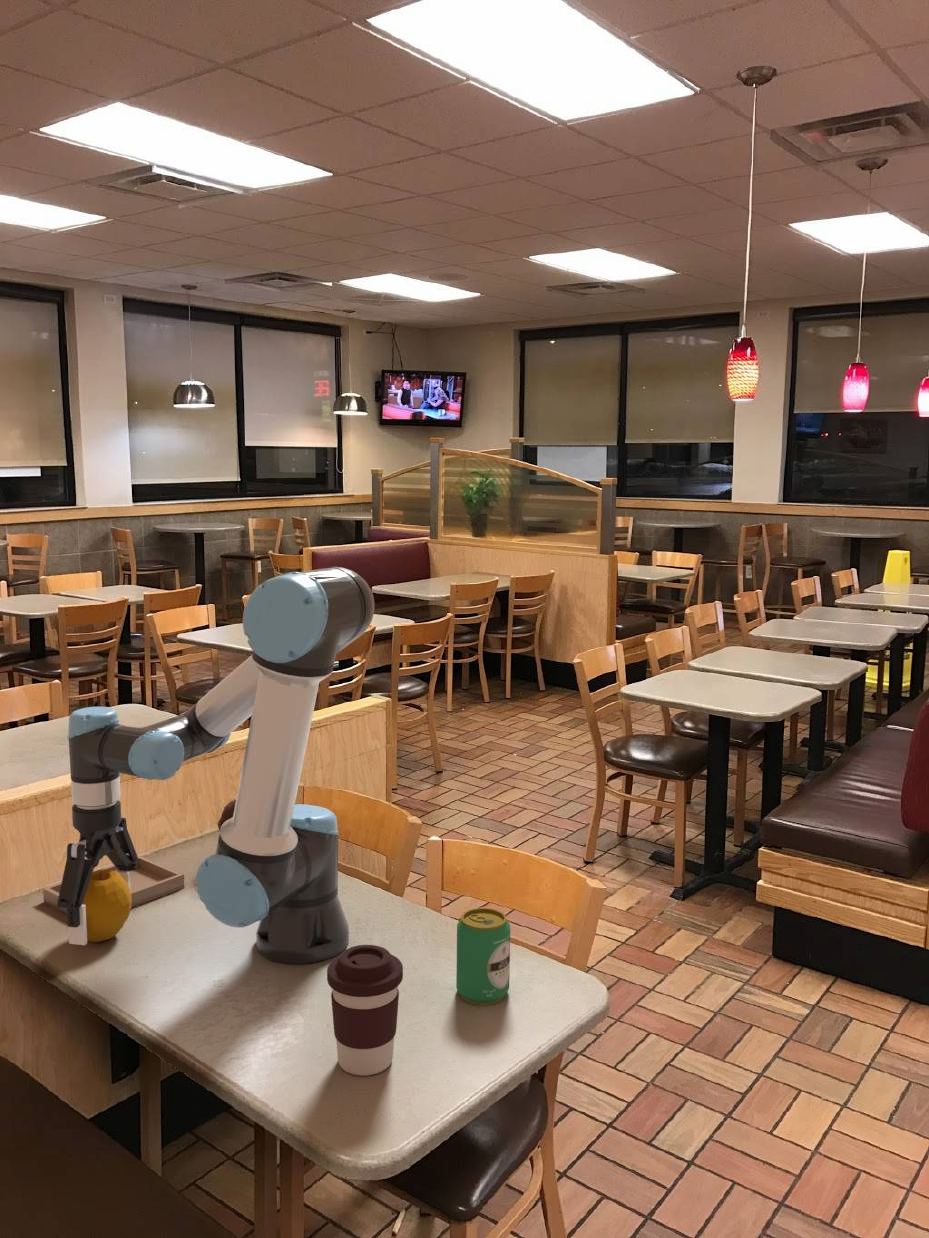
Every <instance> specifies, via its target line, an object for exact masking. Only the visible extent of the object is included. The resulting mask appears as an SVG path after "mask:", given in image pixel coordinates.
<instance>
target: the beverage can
mask: <svg viewBox="0 0 929 1238" xmlns="http://www.w3.org/2000/svg"><path fill="white" fill-rule="evenodd" d="M510 958H511V924H510V922H509V920H508V919H507V915H506V914H505V913H504V912H503V911H500V910H498V909H496V908H492V907H491V908H490V907H476V908H471V909H468V910H466V911H463V912H462V914H461V916H460V919H459V921H458V922H457V924H456V978H455V979H456V981H455V982H456V983H455V984H456V985H455V986H456V989H457V991H458V994H459V996H460V998H462V999H463V1001H466V1002H468V1003H470V1004H474V1005H479V1006H486V1005H494V1004H497V1003H499V1002H501V1001H503V1000H504V999H505V997H506V996H507V993H508V992H509V989H510V975H511V974H510V973H511V971H510V967H511V965H510V964H511V963H510V961H511V959H510Z"/></svg>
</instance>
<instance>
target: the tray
mask: <svg viewBox="0 0 929 1238" xmlns="http://www.w3.org/2000/svg"><path fill="white" fill-rule="evenodd" d="M137 857H138V859H137V862H133V863H134V864H136V865H137V866H136V869H135V870H130V884H131V899H132V904H131V909H132V908H134V907H137V906H141V905H143V904H146V903H148V902H150V901H153V900H155V899H156V900H157V899H158V898H161V897H163V896H166V895H169V894H171V893H174V892H177V891H180V890H182V889H185V874H184V873H181V872H179V871H177V870H175V869H172V868H170V867H167V866H165V865H163V864H161V863H158V862H155V861H153V860H150V859H149V858H146V857H144V856H142V855H137ZM104 869H108V870H113V871H115V870H119V869H117V868H116V867H115V865H114V864H111V865H109V866H106V867H103V868H99V869H96V870H93V872H94V871H97V870H104ZM61 883H62V881H61V882H58V883H55V884H52V885H48V886H47V887H43V888H42V895H43V898H42V899H43V903H45V904H46V905H48V906H50V907H52V908H53V909H56V910H57V911H60V912H62V913H64V914H66V915H67V908H59V907H57V902H58V897H59V893H60V888H61Z"/></svg>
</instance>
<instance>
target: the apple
mask: <svg viewBox="0 0 929 1238" xmlns="http://www.w3.org/2000/svg"><path fill="white" fill-rule="evenodd" d="M96 870H97V871H96ZM96 870H93V871H94V872H93V873H92V876H91V879H90V882H89V885H88V888H87V891H86V894H85V897H84V900H83V903H82V904H83V905H86V927H87V942H92V943H100V942H105V941H106V940H110V939H112V938H113V937H115V936H116V935H118V933H119V932H120V930H121V929H122V928H123V926H124V925H125V923H126V922H127V920H128V918H129V916H130V913H131V909H132V908H131V904H132V899H131V893H130V888H129V886H128V884H127V883H126V881H125V880H124V879H123V878H122V876H121V875H120V874H119V873H117V872H115V871H113V870H108V869H104V870H99V869H96ZM76 900H77V899H76Z"/></svg>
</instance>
